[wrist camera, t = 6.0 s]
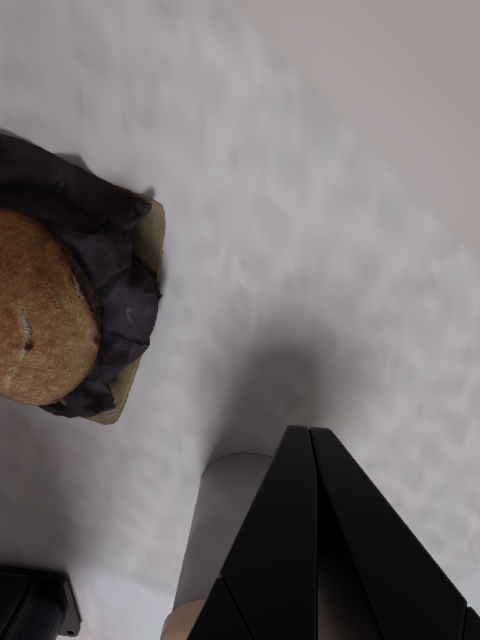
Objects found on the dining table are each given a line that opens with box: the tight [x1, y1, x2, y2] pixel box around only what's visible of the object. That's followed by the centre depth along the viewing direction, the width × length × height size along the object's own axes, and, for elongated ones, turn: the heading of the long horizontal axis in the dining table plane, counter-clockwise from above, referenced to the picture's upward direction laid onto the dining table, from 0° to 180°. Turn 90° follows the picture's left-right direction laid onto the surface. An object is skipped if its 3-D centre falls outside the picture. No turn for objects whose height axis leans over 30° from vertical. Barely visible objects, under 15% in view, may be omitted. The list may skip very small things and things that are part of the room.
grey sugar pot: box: [160, 453, 272, 640], centre depth 15 cm, size 5×5×7 cm
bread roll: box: [0, 134, 166, 425], centre depth 13 cm, size 11×8×4 cm
